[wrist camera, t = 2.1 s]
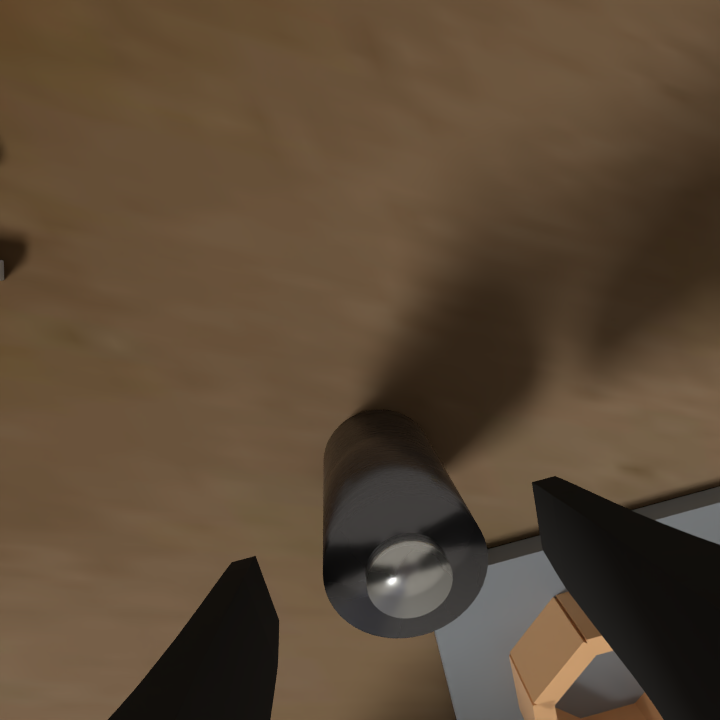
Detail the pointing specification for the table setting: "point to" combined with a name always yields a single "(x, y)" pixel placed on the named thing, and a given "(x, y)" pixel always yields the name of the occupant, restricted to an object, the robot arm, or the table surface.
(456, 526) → the cell
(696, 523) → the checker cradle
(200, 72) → the table surface
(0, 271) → the pliers
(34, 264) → the table surface
